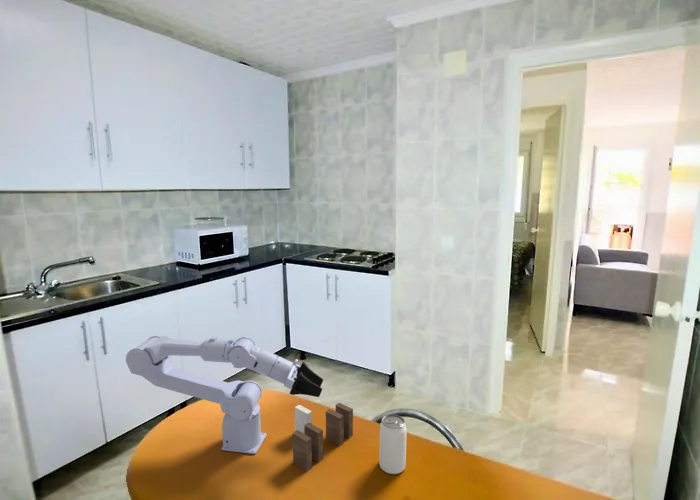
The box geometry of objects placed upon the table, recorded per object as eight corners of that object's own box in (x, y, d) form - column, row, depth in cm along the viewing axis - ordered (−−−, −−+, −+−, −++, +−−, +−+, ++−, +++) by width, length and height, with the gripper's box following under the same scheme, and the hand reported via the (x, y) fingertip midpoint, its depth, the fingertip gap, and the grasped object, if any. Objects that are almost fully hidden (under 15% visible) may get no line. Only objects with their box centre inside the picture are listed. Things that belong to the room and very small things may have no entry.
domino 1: (307, 441, 100) (307, 413, 99) (295, 433, 103) (294, 407, 102) (312, 438, 101) (311, 411, 100) (299, 430, 104) (299, 404, 103)
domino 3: (318, 462, 92) (318, 433, 91) (304, 453, 95) (304, 425, 94) (323, 459, 93) (322, 430, 92) (309, 450, 96) (308, 422, 95)
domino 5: (349, 438, 101) (349, 411, 100) (335, 431, 104) (335, 405, 103) (352, 435, 102) (352, 408, 101) (339, 428, 105) (339, 402, 104)
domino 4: (339, 446, 98) (339, 418, 97) (325, 438, 101) (325, 411, 100) (343, 442, 99) (343, 415, 98) (329, 435, 102) (329, 408, 101)
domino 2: (307, 471, 89) (306, 441, 87) (293, 462, 92) (292, 433, 91) (311, 468, 90) (311, 438, 89) (297, 458, 93) (297, 429, 92)
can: (404, 477, 87) (406, 430, 85) (377, 473, 88) (378, 427, 86) (406, 458, 93) (407, 414, 91) (380, 454, 94) (381, 411, 93)
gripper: (275, 359, 88) (327, 382, 89) (284, 346, 103) (328, 366, 103) (263, 386, 88) (314, 409, 88) (273, 369, 102) (317, 389, 103)
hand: (321, 388), depth 96 cm, fingers open, 7 cm apart
